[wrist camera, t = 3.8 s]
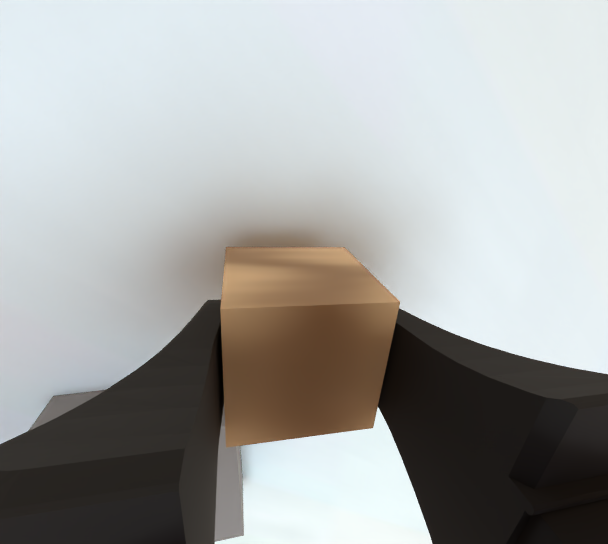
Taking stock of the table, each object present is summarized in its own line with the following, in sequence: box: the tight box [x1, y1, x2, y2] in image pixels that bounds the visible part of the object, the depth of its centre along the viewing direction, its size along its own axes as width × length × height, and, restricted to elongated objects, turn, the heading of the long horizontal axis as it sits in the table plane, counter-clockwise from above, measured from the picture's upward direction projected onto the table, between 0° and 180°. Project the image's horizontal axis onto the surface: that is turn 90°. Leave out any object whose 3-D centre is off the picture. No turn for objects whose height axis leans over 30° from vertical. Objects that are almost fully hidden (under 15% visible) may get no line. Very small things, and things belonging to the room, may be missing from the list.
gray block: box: [29, 390, 244, 541], centre depth 19 cm, size 10×10×4 cm
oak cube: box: [220, 247, 400, 448], centre depth 10 cm, size 4×4×4 cm
